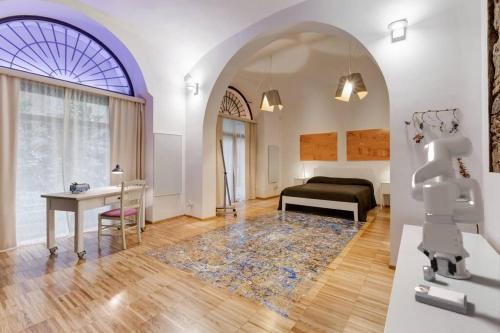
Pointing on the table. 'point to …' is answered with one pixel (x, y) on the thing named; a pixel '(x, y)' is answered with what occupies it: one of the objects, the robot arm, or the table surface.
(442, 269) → the cylinder
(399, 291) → the table surface
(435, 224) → the robot arm
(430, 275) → the cylinder
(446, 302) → the scale
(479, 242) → the table surface
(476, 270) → the table surface
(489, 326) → the table surface
